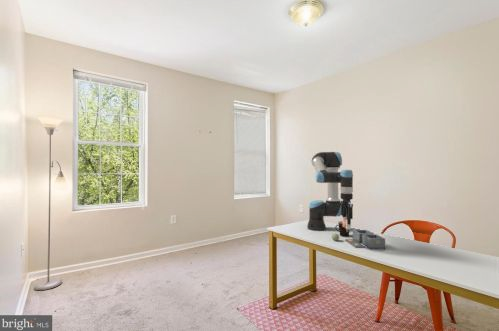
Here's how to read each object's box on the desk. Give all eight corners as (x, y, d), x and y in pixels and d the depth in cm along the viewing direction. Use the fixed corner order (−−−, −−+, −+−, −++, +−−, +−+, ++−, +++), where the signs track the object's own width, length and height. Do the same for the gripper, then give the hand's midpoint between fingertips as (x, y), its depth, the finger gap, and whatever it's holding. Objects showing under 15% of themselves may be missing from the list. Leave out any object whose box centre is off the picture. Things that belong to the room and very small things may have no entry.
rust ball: (341, 227, 170) (341, 220, 170) (348, 227, 171) (348, 219, 171) (344, 229, 165) (344, 221, 165) (352, 229, 166) (351, 221, 166)
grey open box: (362, 244, 172) (362, 234, 171) (376, 243, 172) (376, 234, 172) (370, 249, 161) (370, 239, 161) (385, 248, 162) (385, 238, 162)
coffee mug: (348, 234, 196) (348, 221, 196) (351, 237, 187) (351, 223, 187) (333, 233, 197) (333, 221, 197) (335, 237, 189) (335, 223, 188)
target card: (345, 240, 180) (345, 239, 180) (353, 240, 180) (353, 238, 180) (355, 247, 164) (355, 246, 164) (364, 247, 164) (364, 246, 164)
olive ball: (330, 239, 182) (330, 232, 182) (337, 239, 182) (337, 232, 182) (333, 241, 177) (333, 234, 177) (340, 241, 177) (340, 234, 177)
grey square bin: (352, 238, 183) (352, 230, 183) (366, 238, 184) (366, 229, 184) (359, 243, 173) (359, 233, 173) (373, 243, 174) (373, 233, 174)
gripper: (335, 191, 177) (335, 224, 177) (346, 194, 159) (346, 231, 159) (346, 191, 177) (346, 224, 177) (358, 194, 159) (358, 231, 159)
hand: (346, 227), depth 168 cm, fingers closed on rust ball, 5 cm apart
